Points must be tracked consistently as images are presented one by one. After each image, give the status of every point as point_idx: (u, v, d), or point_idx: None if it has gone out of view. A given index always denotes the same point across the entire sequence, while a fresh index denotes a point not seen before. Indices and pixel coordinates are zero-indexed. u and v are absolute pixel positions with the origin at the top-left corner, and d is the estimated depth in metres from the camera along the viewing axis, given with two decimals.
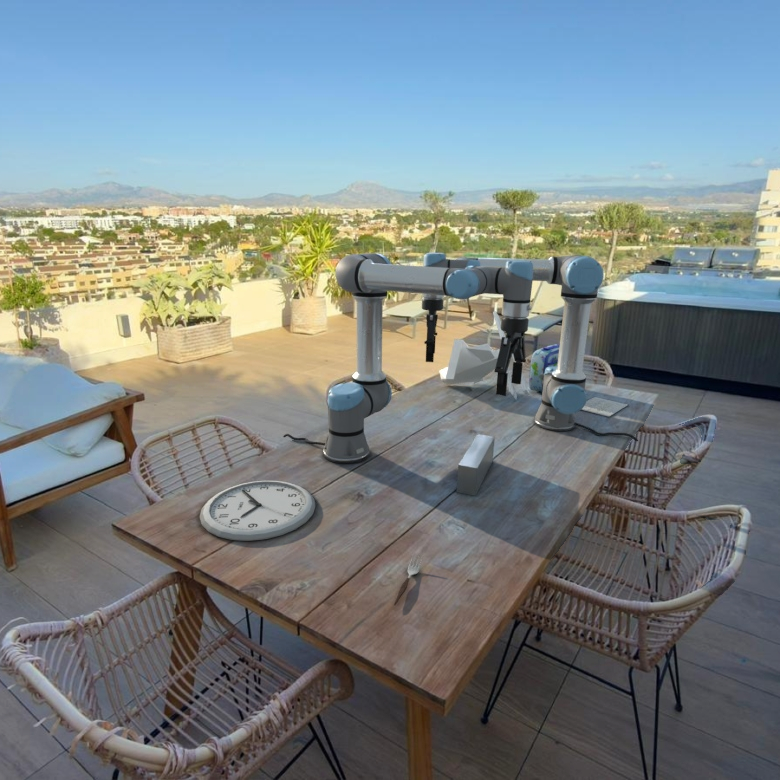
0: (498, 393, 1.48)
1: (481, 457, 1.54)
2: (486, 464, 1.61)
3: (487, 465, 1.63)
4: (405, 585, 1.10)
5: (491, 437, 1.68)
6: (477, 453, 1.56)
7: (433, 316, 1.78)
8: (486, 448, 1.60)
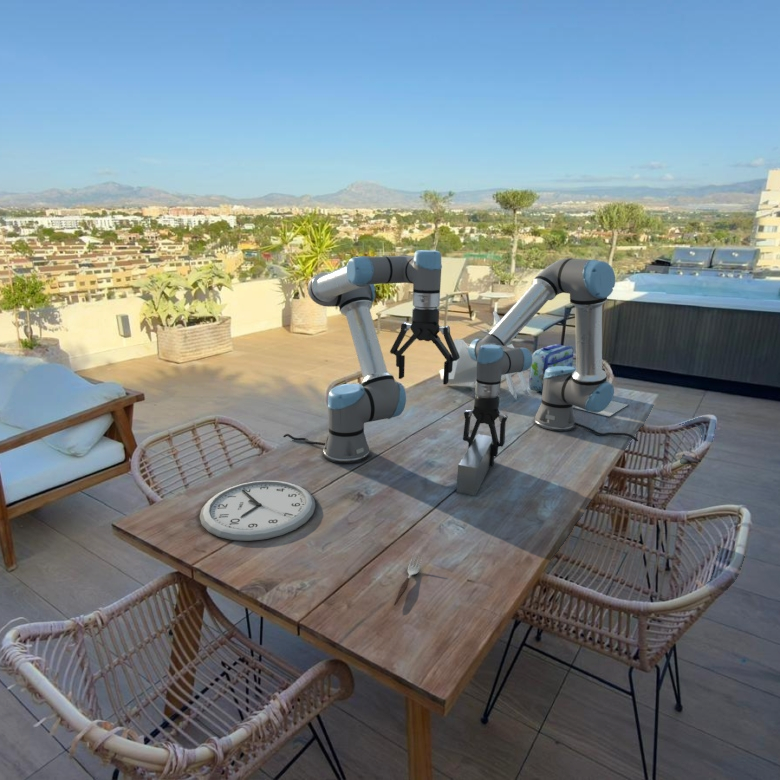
0: None
1: (481, 457, 1.54)
2: (486, 464, 1.61)
3: (487, 465, 1.63)
4: (405, 585, 1.10)
5: (491, 437, 1.68)
6: (477, 453, 1.56)
7: (507, 417, 1.62)
8: (486, 448, 1.60)
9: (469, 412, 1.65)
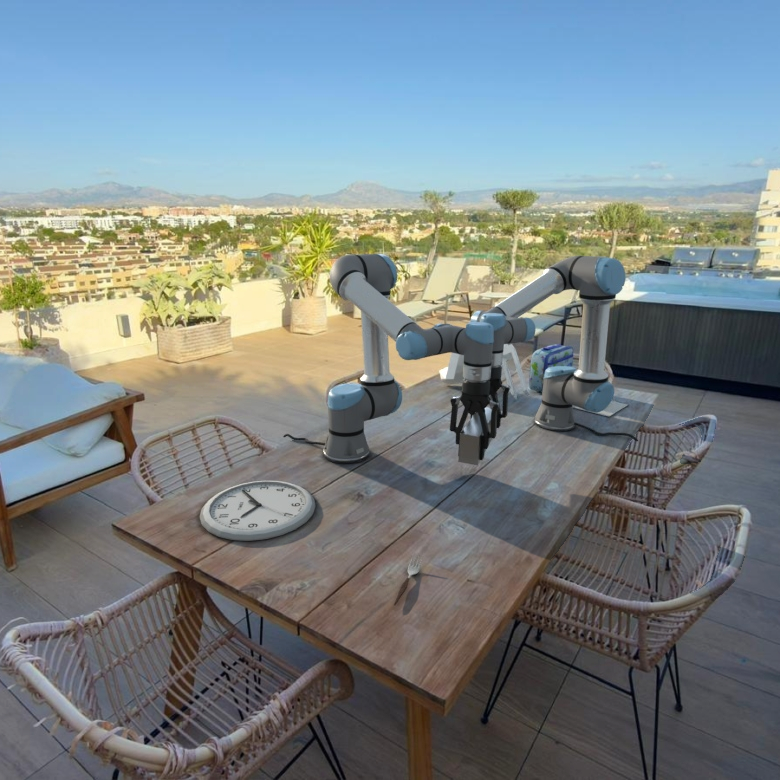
0: None
1: None
2: None
3: None
4: (405, 585, 1.10)
5: None
6: (479, 423, 1.53)
7: (509, 388, 1.60)
8: (488, 419, 1.57)
9: None
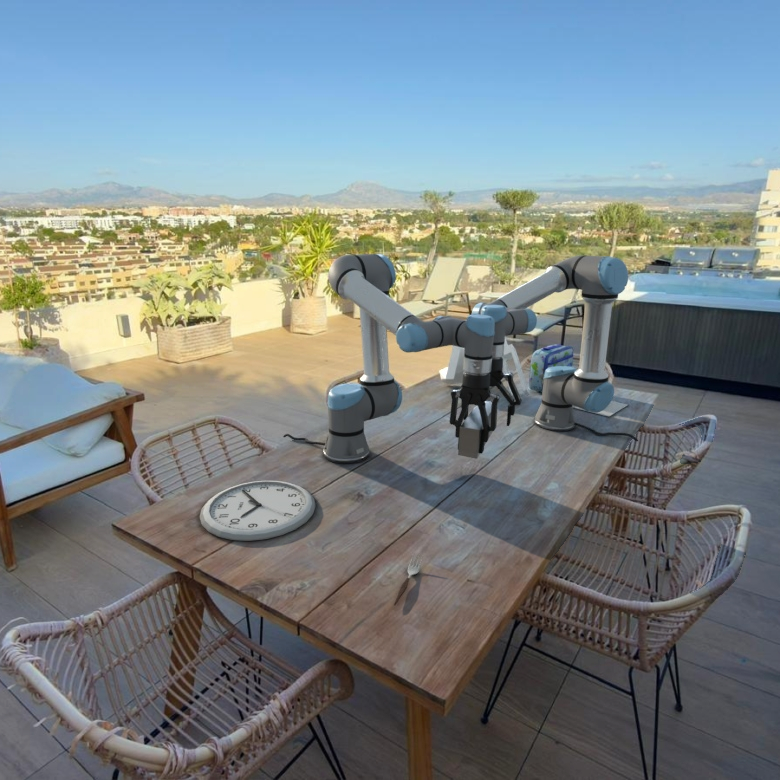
0: None
1: None
2: None
3: None
4: (405, 585, 1.10)
5: None
6: (479, 417, 1.53)
7: (512, 374, 1.59)
8: (488, 412, 1.57)
9: None
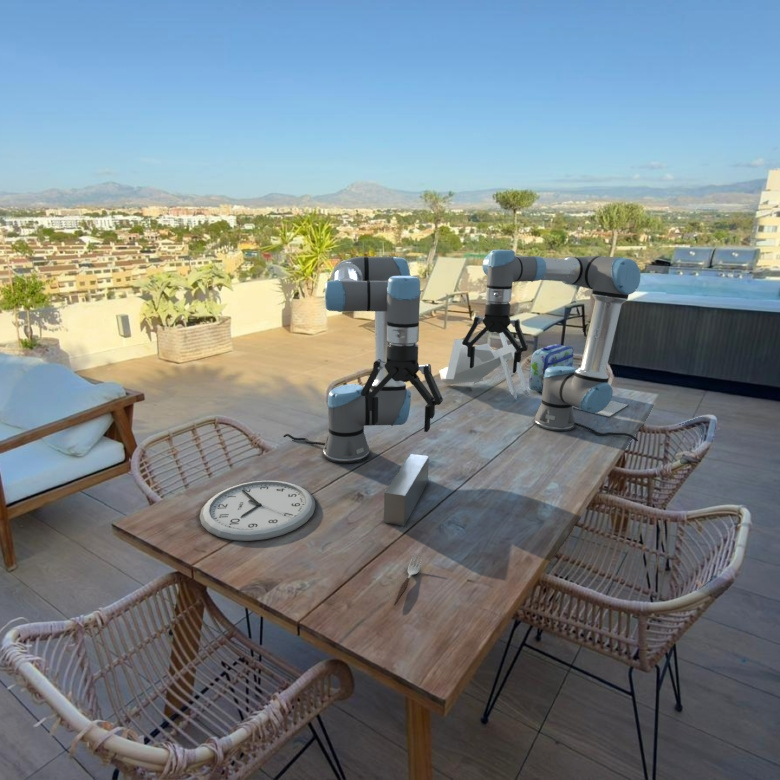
0: None
1: (411, 482, 1.38)
2: (418, 488, 1.45)
3: (420, 489, 1.47)
4: (405, 585, 1.10)
5: (425, 457, 1.53)
6: (407, 477, 1.40)
7: (519, 320, 1.59)
8: (418, 470, 1.44)
9: (479, 319, 1.62)
